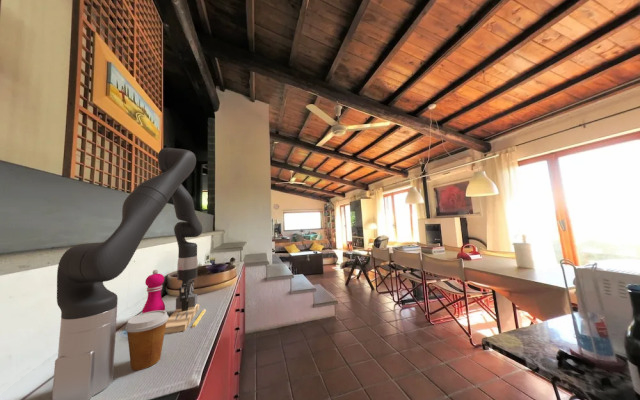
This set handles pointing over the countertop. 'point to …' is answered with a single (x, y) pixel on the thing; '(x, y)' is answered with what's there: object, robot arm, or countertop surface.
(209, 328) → the countertop surface
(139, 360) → the disposable coffee cup
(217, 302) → the countertop surface
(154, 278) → the pepper mill
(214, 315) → the countertop surface
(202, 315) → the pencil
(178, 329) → the board
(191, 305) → the sanding block
